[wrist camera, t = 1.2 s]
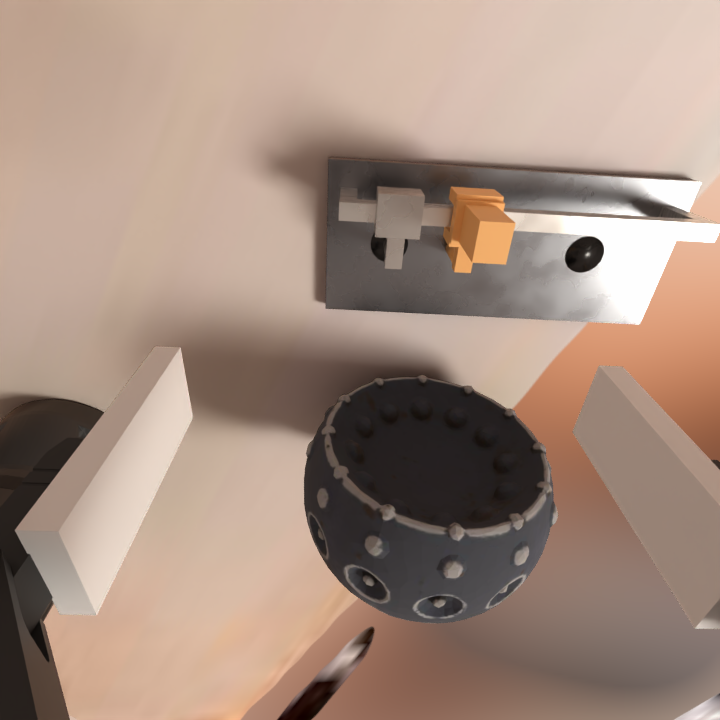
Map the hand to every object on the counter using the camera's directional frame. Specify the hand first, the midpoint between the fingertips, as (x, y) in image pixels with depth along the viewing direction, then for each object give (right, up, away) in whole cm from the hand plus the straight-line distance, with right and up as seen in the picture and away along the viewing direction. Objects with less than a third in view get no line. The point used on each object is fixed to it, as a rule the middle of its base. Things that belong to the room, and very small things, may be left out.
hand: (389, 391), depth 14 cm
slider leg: (+7, +12, +20) cm, 24 cm away
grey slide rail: (+11, +12, +21) cm, 27 cm away
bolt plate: (+10, +10, +23) cm, 27 cm away
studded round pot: (+4, -4, +32) cm, 32 cm away
